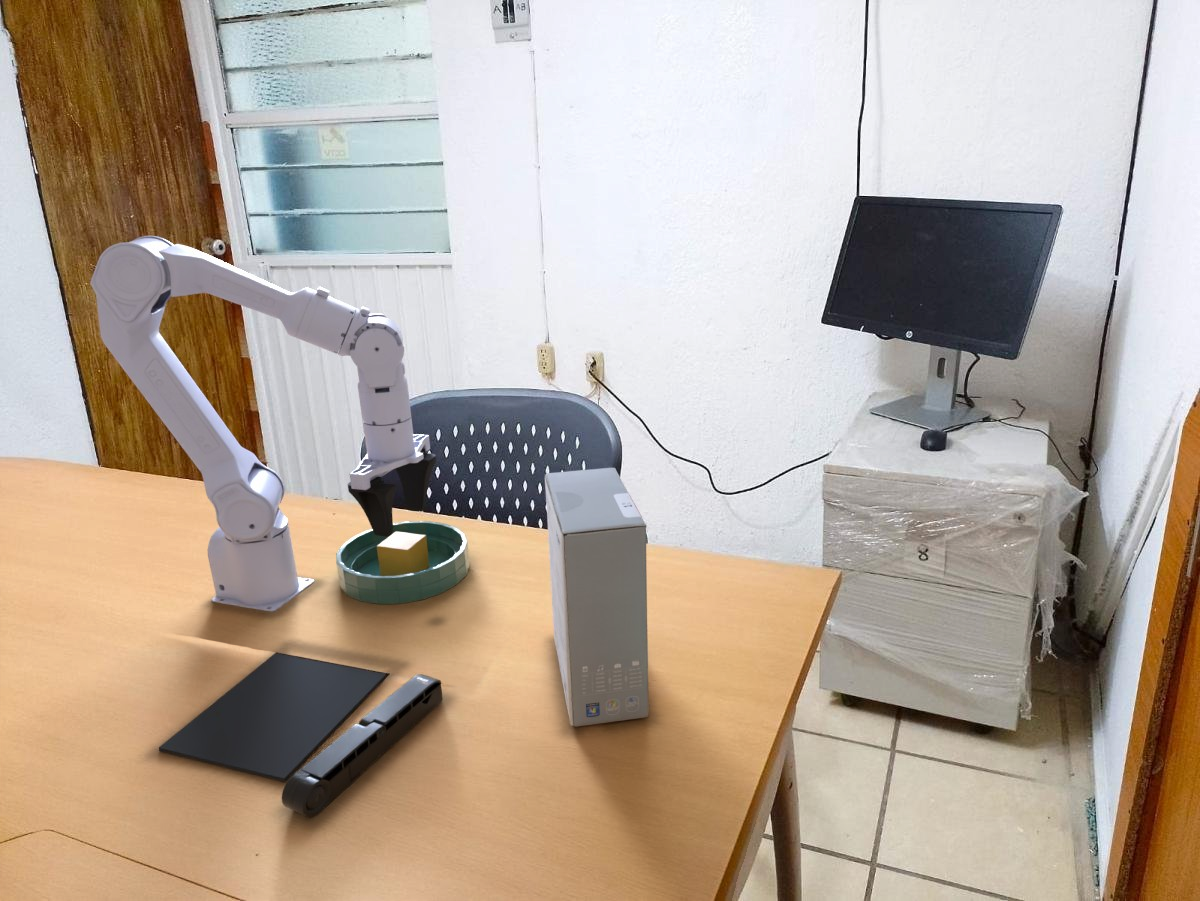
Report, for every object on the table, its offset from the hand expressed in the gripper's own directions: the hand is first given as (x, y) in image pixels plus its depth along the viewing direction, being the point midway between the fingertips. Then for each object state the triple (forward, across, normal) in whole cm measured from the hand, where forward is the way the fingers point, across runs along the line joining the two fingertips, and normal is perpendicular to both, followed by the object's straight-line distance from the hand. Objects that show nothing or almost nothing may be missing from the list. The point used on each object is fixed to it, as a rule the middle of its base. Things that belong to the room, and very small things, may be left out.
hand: (400, 522), depth 104 cm
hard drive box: (+8, -14, -31) cm, 35 cm away
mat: (+8, -27, -3) cm, 28 cm away
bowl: (+8, 0, 0) cm, 8 cm away
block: (+7, 0, 0) cm, 7 cm away
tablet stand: (+8, -30, -15) cm, 35 cm away
